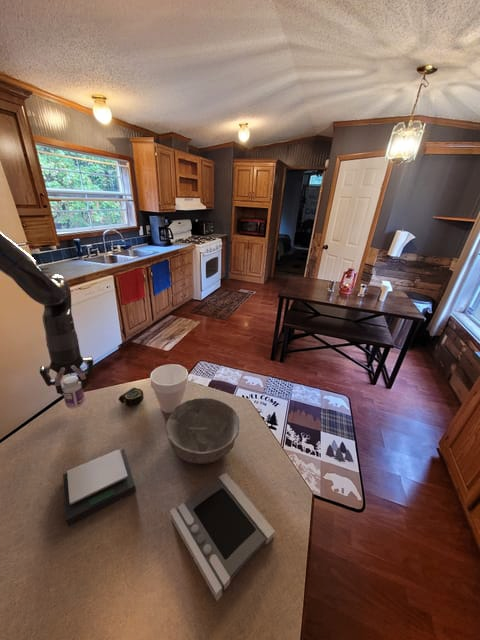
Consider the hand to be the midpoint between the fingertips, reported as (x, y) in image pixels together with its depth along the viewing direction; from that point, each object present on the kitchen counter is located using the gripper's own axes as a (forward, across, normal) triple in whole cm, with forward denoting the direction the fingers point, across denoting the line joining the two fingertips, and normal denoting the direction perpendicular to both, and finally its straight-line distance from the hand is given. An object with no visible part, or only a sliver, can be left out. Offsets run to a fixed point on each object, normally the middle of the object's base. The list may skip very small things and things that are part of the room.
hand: (72, 390), depth 81 cm
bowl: (+8, -29, +34) cm, 46 cm away
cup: (+8, -27, +13) cm, 32 cm away
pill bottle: (+6, 0, 0) cm, 6 cm away
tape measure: (+9, -16, +4) cm, 19 cm away
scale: (+9, -2, +31) cm, 32 cm away
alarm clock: (+8, -23, +55) cm, 60 cm away
